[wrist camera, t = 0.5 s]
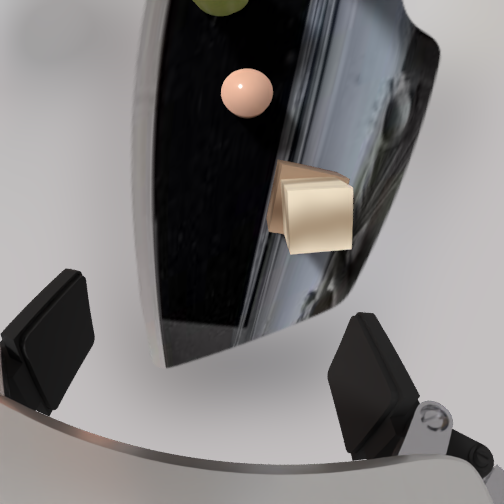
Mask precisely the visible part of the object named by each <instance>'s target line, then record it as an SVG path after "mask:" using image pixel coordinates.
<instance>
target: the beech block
mask: <svg viewBox="0 0 504 504" xmlns="http://www.w3.org/2000/svg"><path fill="white" fill-rule="evenodd" d="M281 195H282V212H283V230H284V235H285V239H286V242H287V245H288V248H289V252H290V254H302V253H314V252H325V251H337V250H349V249H352V226H353V187H351V186H350V185H348V184H346V183H345V182H343V181H341V180H340V179H338V178H336V177H317V178H298V179H282V180H281Z"/></svg>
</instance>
